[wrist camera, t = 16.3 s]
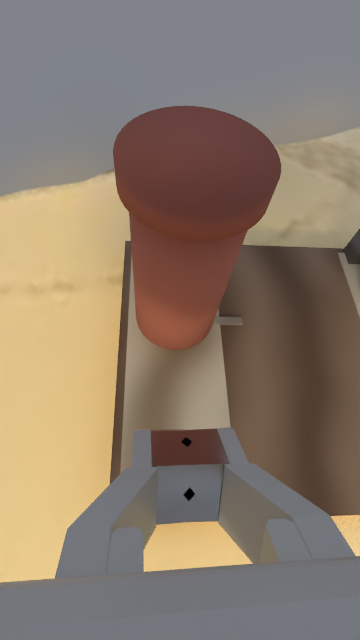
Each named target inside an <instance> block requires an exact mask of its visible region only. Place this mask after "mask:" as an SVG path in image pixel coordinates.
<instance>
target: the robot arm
mask: <svg viewBox="0 0 360 640" xmlns="http://www.w3.org/2000/svg"><path fill="white" fill-rule="evenodd" d="M205 521H218V523H219V524H220V525H221V526H222V528H223V529H224V530H225V531H226V532H227V533H228V535H229V536H230V537H231V538H232V539H233V541H234V542H235V543H236V544H237V545H238V546H239V548H240V549H241V550H242V551H243V552H244V553H245V555H246V556H247V557H248V558H249V559H250V560H251V562H252V563H253V564H245V565H232V566H218V567H205V568H191V569H178V570H165V571H151V572H143V550H144V548H145V546H146V544H147V542H148V541H149V539H150V537H151V535H152V533H153V531H154V530H155V528H156V525H158V524H170V523H181V522H205ZM0 640H360V556H357V557H356V556H355V554H354V553H353V551H352V549H351V548H350V546H349V545H348V543H347V542H346V540H345V539H344V537H343V535H342V534H341V532H340V531H339V529H338V528H337V526H336V524H335V523H334V521H333V520H332V518H331V517H330V515H329V514H327V513H326V512H325V511H323V510H322V509H320V508H319V507H317V506H316V505H314V504H313V503H311V502H310V501H308V500H307V499H305V498H304V497H303V496H301V495H300V494H298V493H297V492H295V491H294V490H292V489H291V488H289V487H288V486H286V485H285V484H283V483H282V482H281V481H279V480H278V479H276V478H275V477H273V476H272V475H270V474H269V473H267V472H266V471H264V470H263V469H262V468H260V467H259V466H257V465H256V464H254V463H249V462H248V460H247V458H246V455H245V453H244V451H243V449H242V446H241V444H240V442H239V440H238V438H237V435H236V433H235V431H234V429H233V428H232V427H228V428H215V429H191V430H184V429H151V431H150V429H144V430H134V431H133V440H132V459H131V468H125V469H124V470H123V472H122V473H121V474H120V475H119V476H118V477H117V478H116V479H115V480H114V481H113V482H112V483H111V484H110V485H109V486H108V487H107V488H106V489H105V490H104V491H103V492H102V493H101V494H100V496H99V497H98V498H97V499H96V500H95V501H94V502H93V503H92V504H91V505H90V506H89V507H88V508H87V509H86V510H85V511H84V512H83V513H82V514H81V515H80V516H79V517H78V518H77V520H76V521H75V522H74V523H73V524H72V525H71V526H70V527H69V528H68V529H67V533H66V537H65V540H64V544H63V548H62V552H61V556H60V560H59V564H58V568H57V572H56V575H55V579H42V580H29V581H15V582H2V583H0Z"/></svg>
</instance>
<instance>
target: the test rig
mask: <svg viewBox="0 0 360 640" xmlns="http://www.w3.org/2000/svg"><path fill="white" fill-rule="evenodd" d="M228 427H232V428H233V429H234V431H235V433H236V435H237V438H238V440H239V442H240V444H241V446H242V449H243V451H244V453H245V455H246V458H247V460H248V462H249V463H254V464H256V465H257V466H259V467H260V468H262V469H263V470H264V471H266V472H267V473H269V474H270V475H272V476H273V477H275V478H276V479H278V480H279V481H281V482H282V483H283V484H285V485H286V486H288V487H289V488H291V489H292V490H294V491H295V492H297V493H298V494H300V495H301V496H303V497H304V498H305V499H307V500H308V501H310V502H311V503H313V504H314V505H316V506H317V507H319V508H320V509H322V510H323V511H325V512H326V513H327V514H329V515H330V516H339V515H360V229H359V230H358V232H357V233H356V234H355V235H354V237H353V238H352V239H351V241H350V242H349V243H348V244H347V246H346V247H345V248H344V249H337V248H309V247H281V246H253V245H242V246H241V249H240V252H239V254H238V257H237V260H236V263H235V265H234V268H233V271H232V273H231V276H230V279H229V281H228V284H227V287H226V289H225V292H224V295H223V298H222V300H221V303H220V306H219V308H218V311H217V314H216V316H215V319H214V322H213V324H212V327H211V329H210V332H209V333H208V335H207V336H206V337H205V338H204V339H203V340H202V341H201V342H200V343H198V344H196V345H195V346H192V347H190V348H186V349H180V350H172V349H166V348H162V347H160V346H157V345H155V344H154V343H152V342H150V341H149V340H148V339H147V338H146V337H145V336H144V335H143V334H142V332H141V331H140V329H139V327H138V324H137V320H136V309H135V293H134V278H133V262H132V247H131V241H126V242H125V258H124V273H123V289H122V304H121V320H120V335H119V351H118V366H117V382H116V397H115V413H114V429H113V444H112V460H111V475H110V484H111V483H112V482H113V481H114V480H115V479H116V478H117V477H118V476H119V475H120V474H121V473H122V472H123V470H124V469H125V468H131V459H132V440H133V431H134V430H144V429H150V431H151V429H184V430H191V429H215V428H228Z"/></svg>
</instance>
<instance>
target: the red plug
mask: <svg viewBox="0 0 360 640" xmlns="http://www.w3.org/2000/svg"><path fill="white" fill-rule="evenodd" d="M113 156H114V166H115V176H116V186H117V191H118V194H119V197H120V199H121V201H122V203H123V205H124V206H125V208H126V209H127V210H128V211H129V216H130V232H131V247H132V262H133V278H134V293H135V309H136V320H137V324H138V327H139V329H140V331H141V332H142V334H143V335H144V336H145V337H146V338H147V339H148V340H149V341H150V342H152V343H154V344H155V345H157V346H160V347H162V348H166V349H172V350H180V349H186V348H190V347H192V346H195V345H196V344H198V343H200V342H201V341H202V340H203V339H204V338H205V337H206V336H207V335H208V333H209V332H210V329H211V327H212V324H213V322H214V319H215V316H216V314H217V311H218V308H219V306H220V303H221V300H222V298H223V295H224V292H225V289H226V287H227V284H228V281H229V279H230V276H231V273H232V271H233V268H234V265H235V263H236V260H237V257H238V254H239V252H240V249H241V246H242V244H243V241H244V238H245V236H246V233H247V230H248V229H250V228H251V227H253V226H254V225H255V224H256V223H257V222H258V221H259V220H260V219H261V218H262V217H263V215H264V214H265V212H266V210H267V207H268V205H269V203H270V200H271V198H272V195H273V193H274V190H275V188H276V186H277V183H278V181H279V178H280V173H281V163H280V158H279V155H278V153H277V151H276V149H275V147H274V145H273V144H272V143H271V142H270V140H269V139H268V138H267V137H266V136H265V135H264V134H263V133H262V132H261V131H259V130H258V129H257V128H255V127H254V126H253V125H251V124H249V123H248V122H246V121H244V120H242V119H240V118H238V117H236V116H234V115H231V114H228V113H225V112H222V111H218V110H215V109H210V108H204V107H195V106H174V107H165V108H160V109H156V110H153V111H149V112H147V113H144V114H142V115H140V116H138V117H136V118H134V119H133V120H131V121H130V122H129V123H127V124H126V126H124V127H123V128H122V130H121V131H120V132H119V134H118V135H117V138H116V140H115V143H114V148H113Z"/></svg>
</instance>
